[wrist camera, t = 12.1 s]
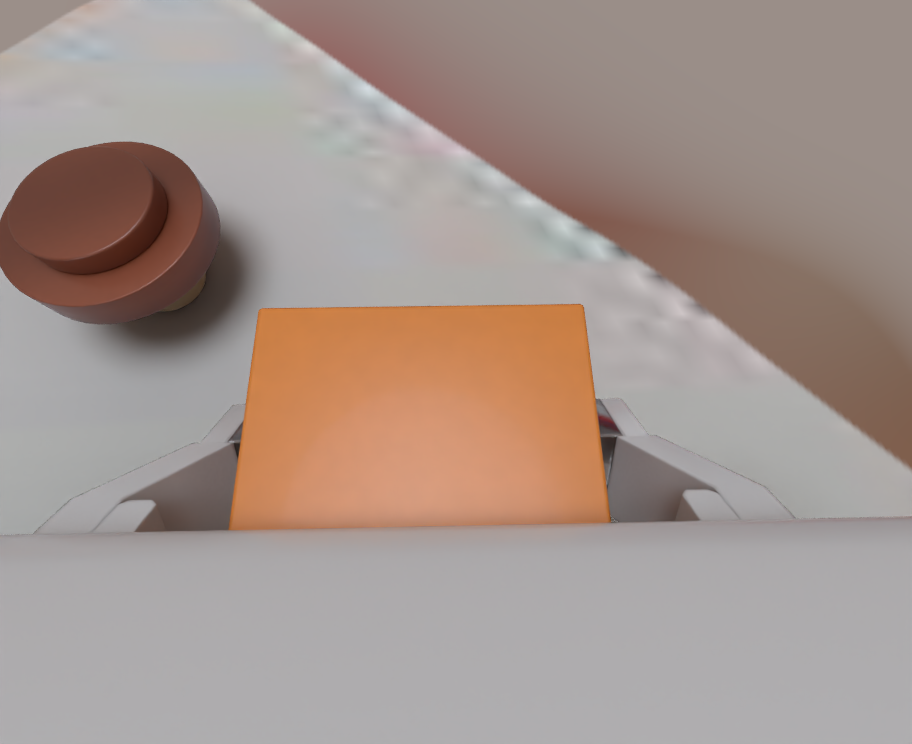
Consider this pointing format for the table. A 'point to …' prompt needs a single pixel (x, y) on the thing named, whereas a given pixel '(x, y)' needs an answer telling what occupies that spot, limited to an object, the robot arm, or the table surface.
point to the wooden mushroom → (110, 233)
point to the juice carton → (420, 419)
